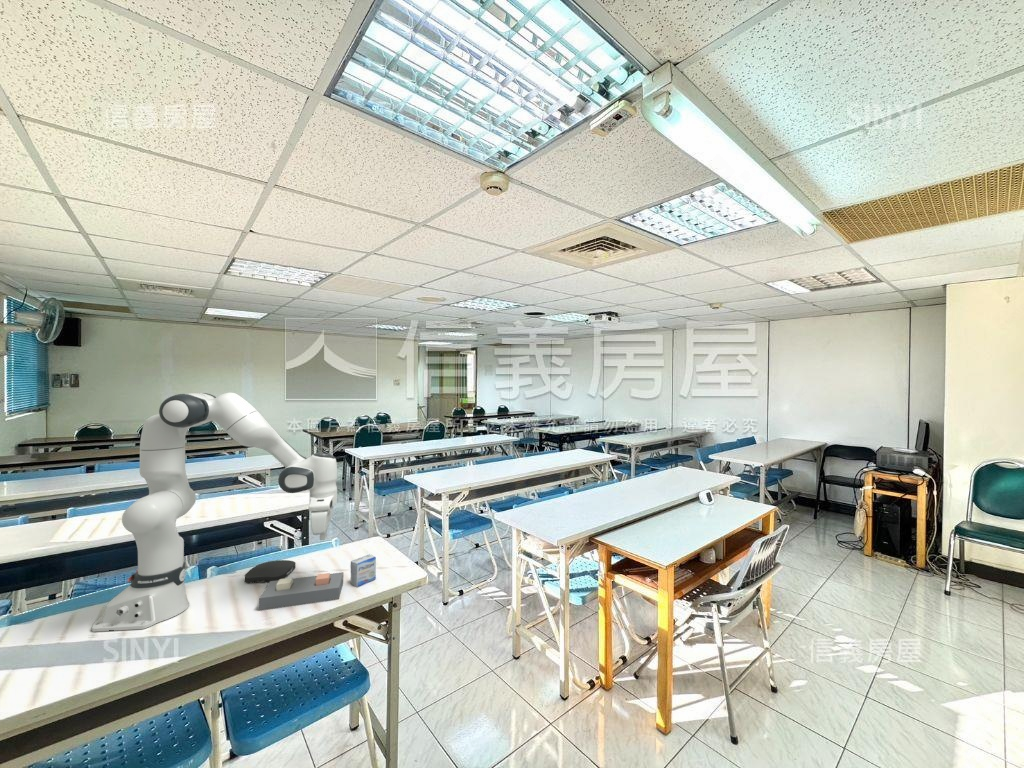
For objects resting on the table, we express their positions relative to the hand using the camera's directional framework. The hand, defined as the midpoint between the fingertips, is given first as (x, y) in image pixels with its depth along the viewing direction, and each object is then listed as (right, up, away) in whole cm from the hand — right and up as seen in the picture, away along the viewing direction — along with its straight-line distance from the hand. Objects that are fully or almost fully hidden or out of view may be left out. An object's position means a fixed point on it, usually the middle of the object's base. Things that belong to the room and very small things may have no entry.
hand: (323, 538), depth 138 cm
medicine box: (+11, -20, +8) cm, 24 cm away
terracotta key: (0, -16, 0) cm, 16 cm away
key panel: (-6, -19, -2) cm, 20 cm away
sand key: (-11, -16, -4) cm, 20 cm away
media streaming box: (-27, -20, +14) cm, 37 cm away
